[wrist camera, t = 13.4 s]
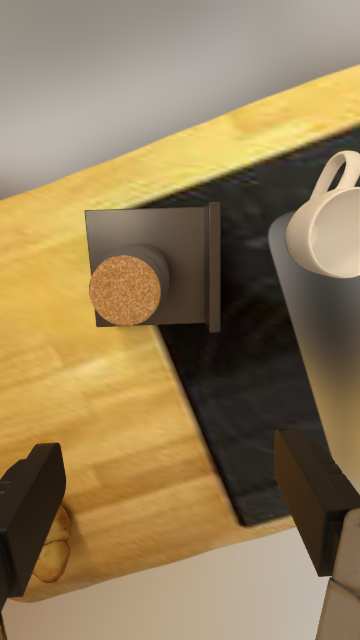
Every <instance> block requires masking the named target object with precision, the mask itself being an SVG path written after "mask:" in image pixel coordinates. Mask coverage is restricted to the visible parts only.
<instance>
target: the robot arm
mask: <svg viewBox="0 0 360 640" xmlns="http://www.w3.org/2000/svg"><path fill="white" fill-rule="evenodd" d="M274 472H275V477H276V480H277V483H278V486H279V488H280V490H281V492H282V495H283V497H284V499H285V502H286V504H287V506H288V508H289V511H290V513H291V515H292V517H293V520H294V522H295V524H296V526H297V529H298V531H299V533H300V535H301V537H302V540H303V542H304V544H305V547H306V549H307V551H308V554H309V556H310V558H311V560H312V562H313V565H314V567H315V569H316V572H317V574H318V576H319V577H323V576H332V578H331V577H330V579H329V582H328V586H327V590H326V595H325V599H324V604H323V608H322V613H321V617H320V621H319V626H318V631H317V635H316V639H315V640H360V495H359V494H358V492H357V491H356V490H355V488H354V487H353V486H352V484H351V483H350V481H349V480H348V479H347V478H346V476H345V475H344V474H342V471H341V469H340V468H339V467H338V465H337V464H335V461H334V460H333V459H332V457H331V456H330V455H329V453H328V452H327V451H326V450H325V449H323V448H322V447H321V446H319V445H318V444H316V443H315V442H307V441H306V440H305V439H304V437H303V436H302V434H301V433H300V431H299V430H298V429H297V428H295V429H278V430H276V432H275V447H274ZM65 489H66V475H65V469H64V463H63V457H62V451H61V446H60V444H59V443H42V444H36V445H35V446H34V448H33V449H32V451H31V452H30V454H29V455H28V457H27V458H26V459H22V460H19V461H18V462H17V463H15V464H14V465H13V466H12V467H11V468H9V469H8V470H7V471H6V473H5V474H4V475H3V477H2V478H1V480H0V640H7V636H6V631H5V626H4V622H3V617H2V613H1V611H2V609H3V606H4V604H5V602H6V600H7V598H10V597H23V595H24V592H25V590H26V587H27V585H28V582H29V580H30V577H31V575H32V573H33V570H34V568H35V565H36V563H37V560H38V558H39V556H40V553H41V551H42V548H43V546H44V543H45V541H46V538H47V536H48V534H49V531H50V529H51V526H52V524H53V521H54V519H55V516H56V514H57V512H58V509H59V507H60V504H61V502H62V499H63V497H64V494H65Z"/></svg>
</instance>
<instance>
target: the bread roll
mask: <svg viewBox="0 0 360 640" xmlns="http://www.w3.org/2000/svg"><path fill="white" fill-rule="evenodd" d="M70 527H71V522H70V520H69V516H68V514H67V512H66V510H65V509H64V508H63V507H62V506H61V505H60V507H59V509H58V512H57V514H56V516H55V519H54V521H53V524H52V526H51V529H50V531H49V534H48V536H47V538H46V541H45V543H44V546H43V548H42V551H41V553H40V556H39V558H38V560H37V563H36V565H35V568H34V570H33V573H32V574H33V575H35V576H36V577H38V578H39V579H40V580H41V581H42V582H45V583H53V582H56V581H57V580H58V579H59V578H60V577H61V576H62V574H63V573H64V570H65V568H66V565H67V562H68V558H69V554H70V547H69V545H68V544H67V542H68V539H69V534H70Z"/></svg>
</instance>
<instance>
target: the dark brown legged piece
mask: <svg viewBox="0 0 360 640" xmlns="http://www.w3.org/2000/svg"><path fill="white" fill-rule="evenodd" d="M85 220H86V230H87V239H88V249H89V259H90V268H91V277H92V275H93V273H94V271H95V270H96V268H97V267H98V266H99V265H100V264H101V262H102V261H103V259H104V258H105V257H106V256H107V255H108V254H109V253H110V252H112V251H113V250H115V249H117V248H119V247H122V246H126V245H132V244H148V245H152V246H154V247H156V248H157V249H159V250H160V251H161V252H162V253H163V255H164V256H165V258H166V260H167V262H168V266H169V289H168V293H167V296H166V298H165V300H164V301H163V303H162V304H161V305H160V307H159V308H157V309H156V310H155V312H154V313H153V314H152V315H151V316H150V317H149V318H148V319H147V320H145V321H144V322H142V323H139V324H137V325H163V324H188V323H206V326H207V328H208V330H209V332H210V333H214V332H220V317H221V203H220V202H219V203H208V204H207V205H206V206H205V207H186V208H151V209H116V210H85ZM95 317H96V326H97V327H112V326H121V325H116V324H113V323H111V322H109V321H107V320H105V319H104V318H103V317H102V316H101V315H100V314H99V313H98V312H97V311H96V309H95ZM137 325H132V326H137Z"/></svg>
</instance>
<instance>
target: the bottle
mask: <svg viewBox="0 0 360 640" xmlns="http://www.w3.org/2000/svg"><path fill="white" fill-rule="evenodd" d="M168 289H169V266H168V262H167V260H166V258H165V256H164V255H163V253H162V252H161V251H160V250H159V249H157V248H156V247H154V246H152V245H148V244H132V245H126V246H122V247H119V248H117V249H115V250H113V251H112V252H110V253H109V254H108V255H107V256H106V257H105V258H104V259H103V261H102V262H101V264H100V265H99V266H98V267H97V268H96V270H95V271H94V273H93V275H92V277H91V280H90V285H89V294H90V299H91V302H92V304H93V306H94V308H95V309H96V311H97V312H98V313H99V314H100V315H101V316H102V317H103V318H104V319H105V320H107V321H109V322H111V323H113V324H116V325H121V326H132V325H137V324H139V323H142V322H144V321H145V320H147V319H148V318H149V317H150V316H151V315H152V314H153V313H154V312H155V310H156V309H157V308H159V307H160V305H161V304H162V303H163V301H164V300H165V298H166V296H167V293H168Z"/></svg>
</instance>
